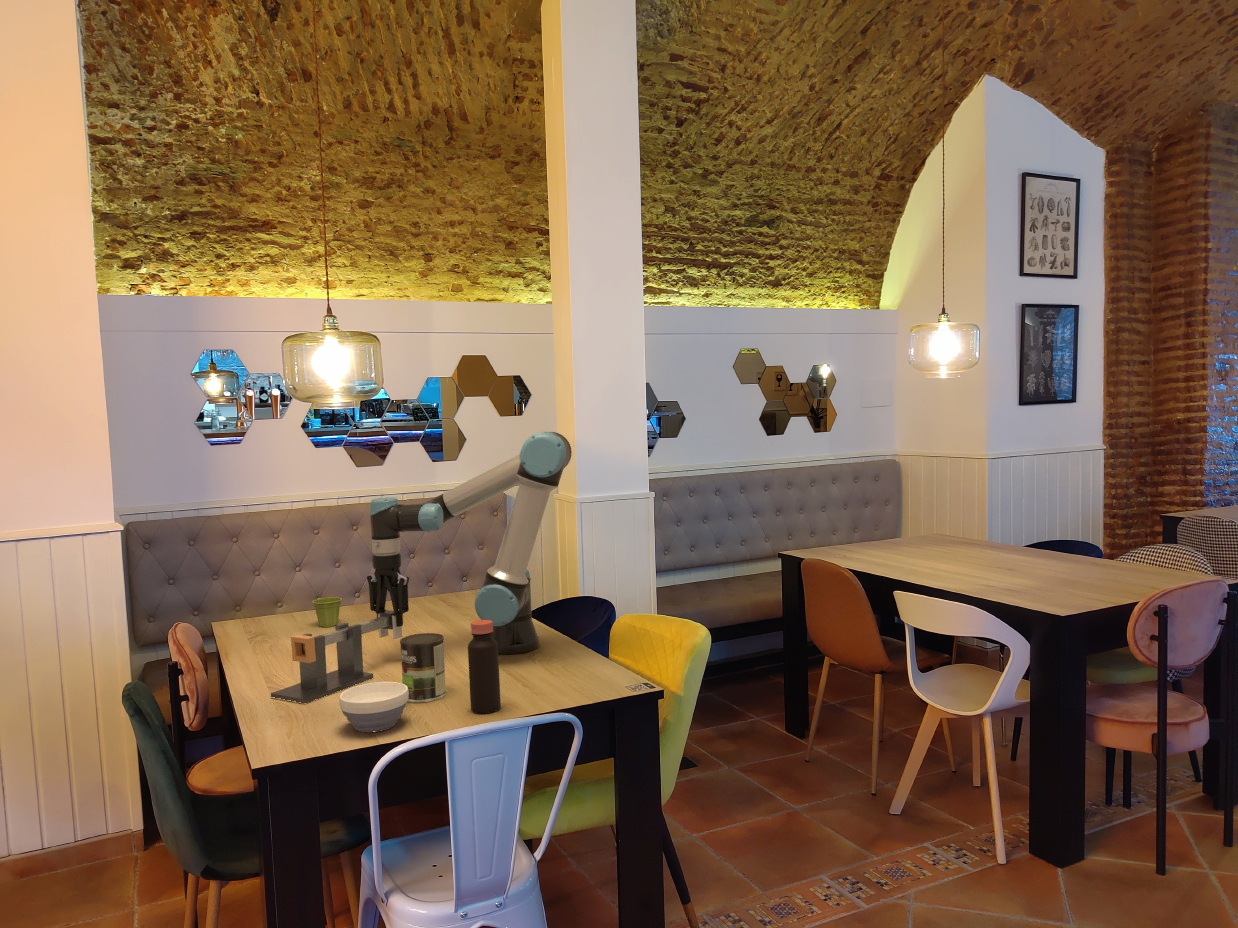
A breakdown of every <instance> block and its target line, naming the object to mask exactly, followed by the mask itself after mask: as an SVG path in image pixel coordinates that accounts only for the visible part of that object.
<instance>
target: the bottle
mask: <svg viewBox="0 0 1238 928" xmlns="http://www.w3.org/2000/svg"><path fill="white" fill-rule="evenodd" d="M470 632H471V636H472V639H471V640H470V641H469V643H468V644H467V656H468V657H467V659H468V674H469V675H468V679H469V697H470V698H469V700H470V701H469V702H470V710H471V712H472V713H474V714H479V715H482V714H483V715H486V714H492V713H495V712H497V711H499V710H500V709H501V707H502V703H501V683H500V680H501V679H500V664H499V654H498V643H497V641H496V640H495V639H494V638H492V634H493V622H492V621H491V620H481V619H479V620H474V621H472V622H470Z"/></svg>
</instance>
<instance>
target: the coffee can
mask: <svg viewBox="0 0 1238 928" xmlns="http://www.w3.org/2000/svg"><path fill="white" fill-rule="evenodd" d="M444 640H445V637H444V635H443V634H440V633H433V632H431V633H430V632H424V633H423V632H422V633H415V634H411V635H407V636H404V637H401V639H400V640H399V643H400V653H401V654H400V659H401V661H400V662H401V676H402V680H401V681H402V682H401V683H402V684H404V685H406V686H407V687H408V691H409V699H408V701H407V703H412V704H413V703H417V704H418V703H428V702H429V703H430V702H435V701H437V700H441V699H442V698H444V697H445V696H446V695H447V691H446V690H447V689H446V670H445V647H444Z"/></svg>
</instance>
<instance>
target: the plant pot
mask: <svg viewBox="0 0 1238 928" xmlns="http://www.w3.org/2000/svg"><path fill="white" fill-rule="evenodd" d="M342 601H343V598H341V597H336V596H334V597H322V598H317V599H314V600H312V604H313V607H314V608H315V613H316V618H317V623H318V626H319V628H332V627H335V625H338V624H339V617H340V608H341V607H340V606H341V603H342Z"/></svg>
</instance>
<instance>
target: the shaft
mask: <svg viewBox="0 0 1238 928" xmlns="http://www.w3.org/2000/svg"><path fill="white" fill-rule="evenodd" d="M392 614H394V610H389V609H386V611H383V612H380V617H379V618H377V617H375V618H372V619H369V620H366V621H362V622H359V623H358V624H360V625H361V632H362V635H364V634H367V633H371V632H374V631H377V630H379V629H380V628H382V629H388V630H390V631H391V630H392V631H393V624H392V616H393V615H392ZM321 635H324V636H325V647H327V646H329V645H333V644H337V643H336V642H339V641H342V640H346V639H349V638H348V627H345V628H342V629H339V630H336V629H335V630H333V631H330V632H329V631H328V632H325V633H323V634H321ZM303 650H305V643H303Z"/></svg>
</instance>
